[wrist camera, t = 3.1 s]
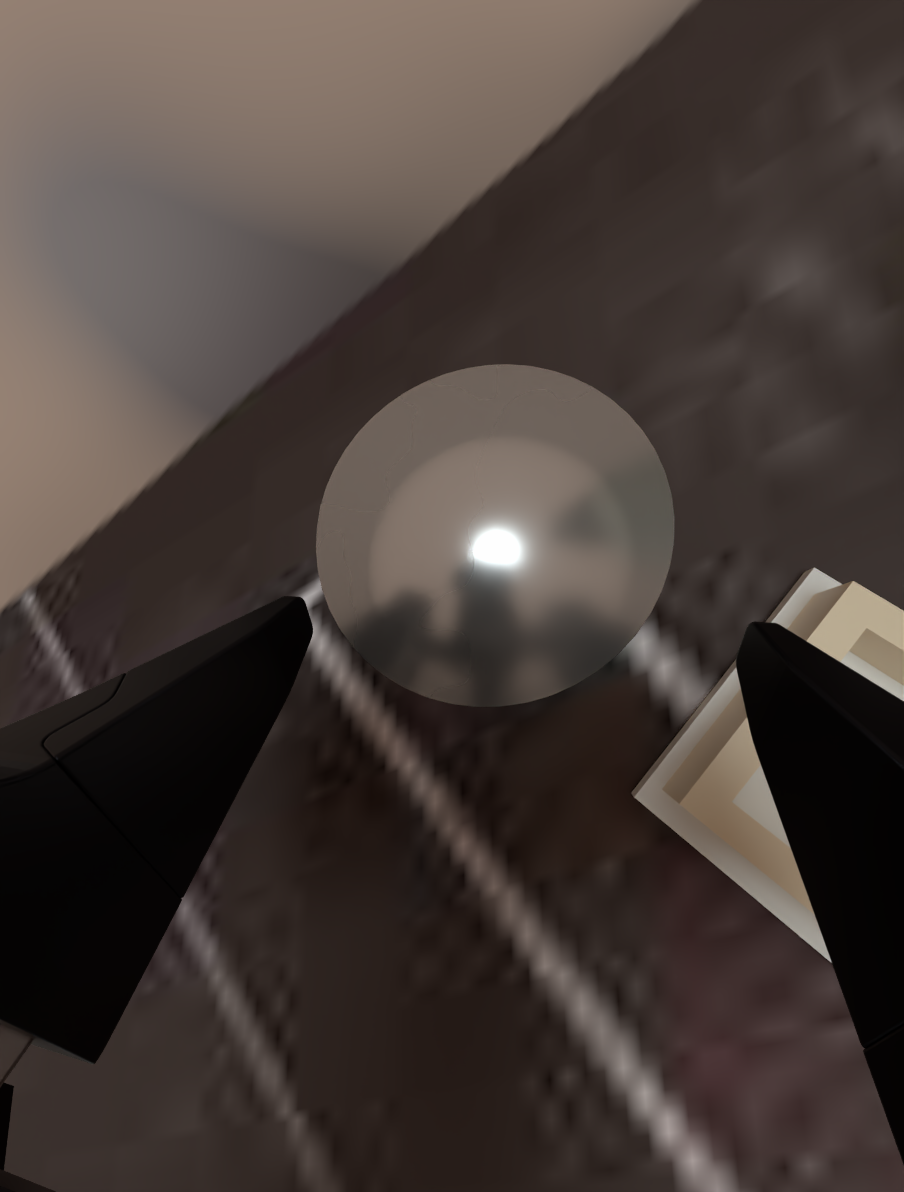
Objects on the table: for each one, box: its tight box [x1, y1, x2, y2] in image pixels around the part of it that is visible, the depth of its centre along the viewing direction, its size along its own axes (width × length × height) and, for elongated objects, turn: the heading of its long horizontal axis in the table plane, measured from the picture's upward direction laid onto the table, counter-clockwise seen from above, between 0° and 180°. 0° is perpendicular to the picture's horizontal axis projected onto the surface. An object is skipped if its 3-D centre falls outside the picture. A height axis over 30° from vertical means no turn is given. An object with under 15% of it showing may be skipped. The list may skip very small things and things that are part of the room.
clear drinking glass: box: [316, 364, 674, 707], centre depth 12 cm, size 4×4×12 cm
